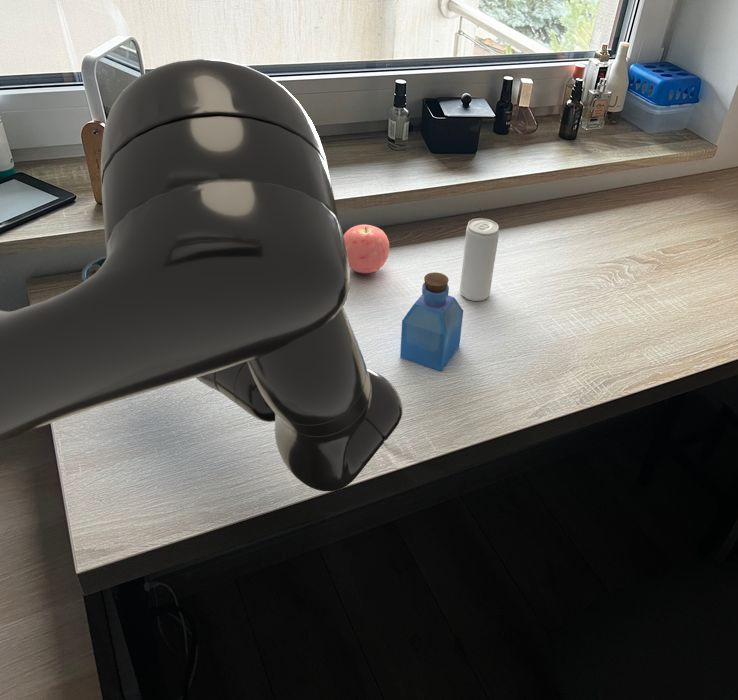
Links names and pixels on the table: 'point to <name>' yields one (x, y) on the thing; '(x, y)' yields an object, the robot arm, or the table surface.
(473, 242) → the beverage can
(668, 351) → the table surface
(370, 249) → the apple
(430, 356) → the perfume bottle
